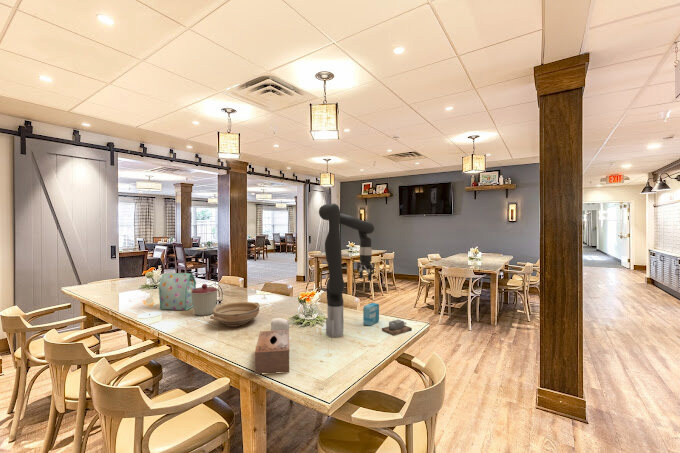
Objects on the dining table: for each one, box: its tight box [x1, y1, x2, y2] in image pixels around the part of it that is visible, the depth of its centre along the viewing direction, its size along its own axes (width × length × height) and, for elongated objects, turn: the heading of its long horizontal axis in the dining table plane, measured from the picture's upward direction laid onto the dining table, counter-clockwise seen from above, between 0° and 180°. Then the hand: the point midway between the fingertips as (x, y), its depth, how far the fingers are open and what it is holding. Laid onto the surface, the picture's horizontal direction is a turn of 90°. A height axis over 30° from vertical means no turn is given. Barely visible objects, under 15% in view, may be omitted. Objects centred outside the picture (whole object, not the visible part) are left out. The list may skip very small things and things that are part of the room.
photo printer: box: [270, 317, 290, 331], centre depth 171 cm, size 10×4×12 cm, turn 72°
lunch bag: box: [158, 272, 197, 311], centre depth 236 cm, size 23×16×27 cm
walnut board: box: [381, 325, 413, 337], centre depth 186 cm, size 15×10×2 cm, turn 126°
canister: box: [191, 283, 219, 317], centre depth 221 cm, size 18×18×21 cm
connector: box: [388, 319, 407, 331], centre depth 186 cm, size 12×4×4 cm, turn 126°
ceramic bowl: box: [210, 301, 261, 327], centre depth 201 cm, size 37×28×10 cm
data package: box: [362, 302, 380, 327], centre depth 200 cm, size 12×4×12 cm, turn 142°
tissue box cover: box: [254, 329, 290, 375], centre depth 146 cm, size 26×14×10 cm, turn 10°
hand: (365, 279), depth 198 cm, fingers open, 8 cm apart
